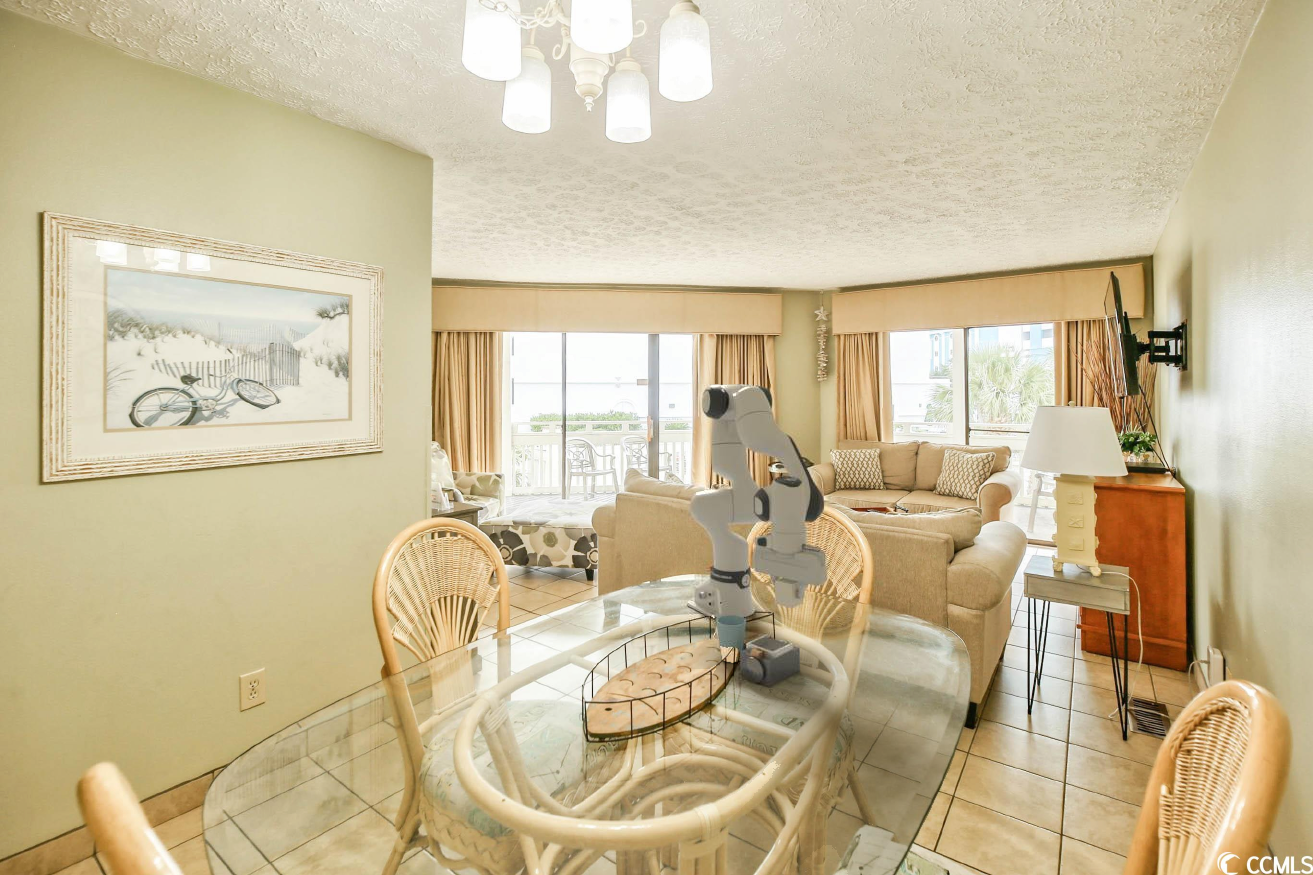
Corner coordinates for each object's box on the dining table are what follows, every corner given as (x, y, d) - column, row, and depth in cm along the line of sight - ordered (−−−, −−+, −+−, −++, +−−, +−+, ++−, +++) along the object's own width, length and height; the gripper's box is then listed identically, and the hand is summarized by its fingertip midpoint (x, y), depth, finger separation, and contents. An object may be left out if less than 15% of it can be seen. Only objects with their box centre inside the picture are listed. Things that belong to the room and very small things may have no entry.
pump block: (775, 603, 156) (775, 580, 156) (789, 597, 161) (789, 575, 160) (791, 608, 153) (791, 584, 152) (806, 602, 157) (806, 578, 157)
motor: (737, 676, 151) (737, 646, 150) (772, 658, 160) (772, 630, 159) (767, 688, 144) (767, 657, 143) (801, 669, 153) (801, 640, 153)
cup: (736, 668, 155) (736, 627, 154) (711, 660, 160) (710, 621, 159) (751, 657, 161) (751, 618, 160) (727, 650, 166) (726, 612, 165)
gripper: (832, 545, 150) (832, 601, 151) (763, 533, 165) (764, 584, 165) (818, 550, 145) (818, 607, 146) (749, 537, 160) (749, 589, 161)
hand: (789, 595), depth 156 cm, fingers closed on pump block, 5 cm apart
